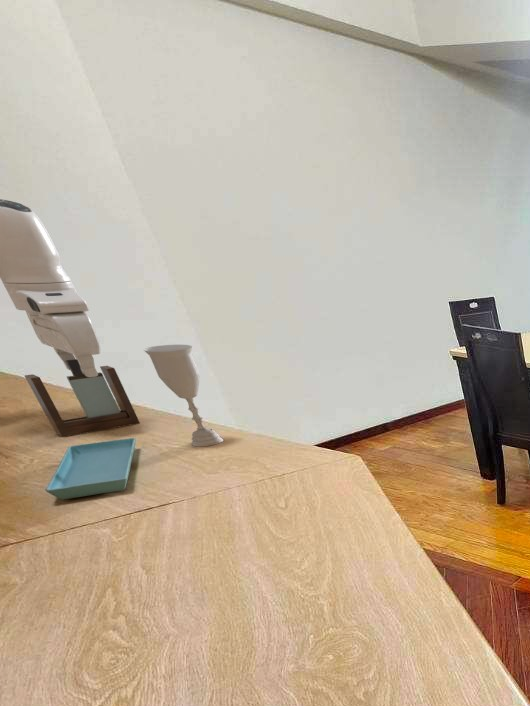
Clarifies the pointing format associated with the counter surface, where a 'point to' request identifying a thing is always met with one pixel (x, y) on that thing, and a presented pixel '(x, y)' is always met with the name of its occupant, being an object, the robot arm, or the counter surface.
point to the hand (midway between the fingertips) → (83, 373)
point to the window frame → (85, 423)
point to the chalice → (182, 383)
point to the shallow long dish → (93, 469)
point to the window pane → (91, 392)
